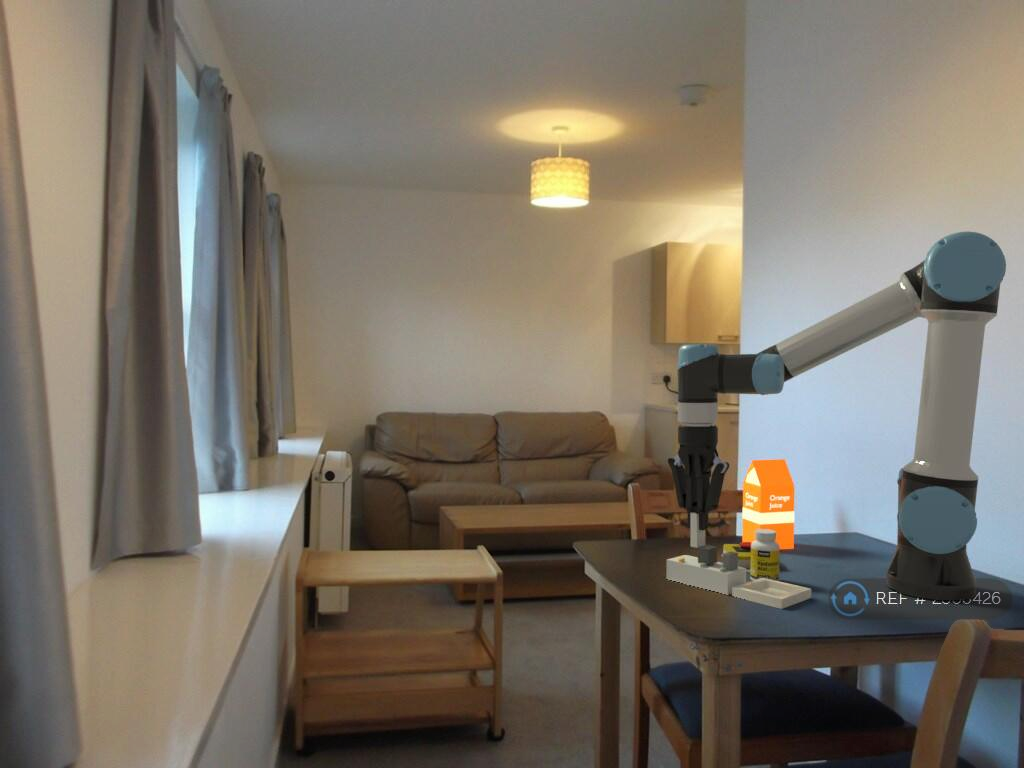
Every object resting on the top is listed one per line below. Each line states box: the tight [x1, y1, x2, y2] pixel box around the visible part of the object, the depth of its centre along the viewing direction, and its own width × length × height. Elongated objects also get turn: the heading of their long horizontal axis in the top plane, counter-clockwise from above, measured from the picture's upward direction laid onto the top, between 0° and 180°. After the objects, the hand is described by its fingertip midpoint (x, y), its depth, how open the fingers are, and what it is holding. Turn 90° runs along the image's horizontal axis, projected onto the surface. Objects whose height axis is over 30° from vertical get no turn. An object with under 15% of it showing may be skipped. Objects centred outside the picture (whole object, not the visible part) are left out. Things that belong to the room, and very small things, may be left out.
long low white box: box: [666, 552, 747, 596], centre depth 162 cm, size 14×6×7 cm, turn 41°
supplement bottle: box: [749, 529, 781, 582], centre depth 164 cm, size 5×5×10 cm
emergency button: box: [721, 542, 781, 573], centre depth 178 cm, size 9×4×15 cm
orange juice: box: [742, 458, 796, 550], centre depth 194 cm, size 8×9×20 cm
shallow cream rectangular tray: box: [731, 578, 812, 610], centre depth 153 cm, size 10×10×2 cm
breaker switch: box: [697, 544, 718, 565], centre depth 161 cm, size 2×3×3 cm
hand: (697, 545), depth 163 cm, fingers closed
